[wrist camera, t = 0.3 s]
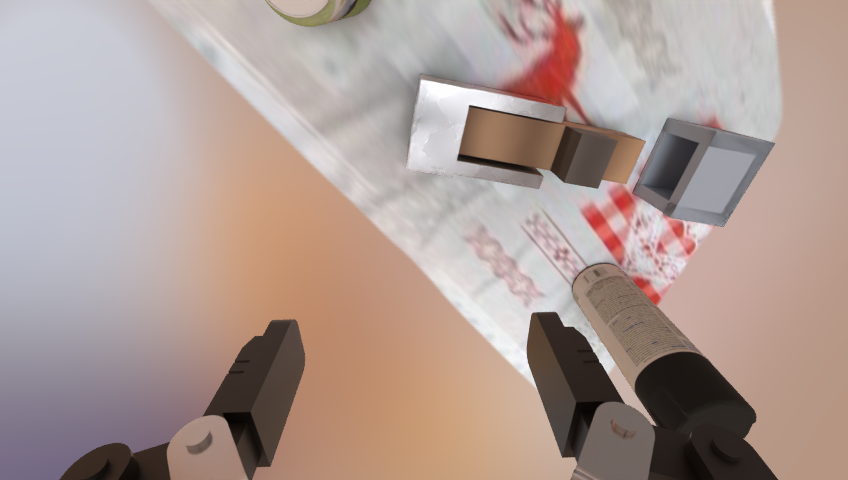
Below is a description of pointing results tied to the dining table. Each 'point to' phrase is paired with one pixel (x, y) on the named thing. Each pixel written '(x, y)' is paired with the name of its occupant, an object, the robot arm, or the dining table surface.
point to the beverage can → (316, 10)
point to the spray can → (658, 356)
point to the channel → (444, 124)
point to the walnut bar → (551, 146)
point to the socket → (700, 171)
